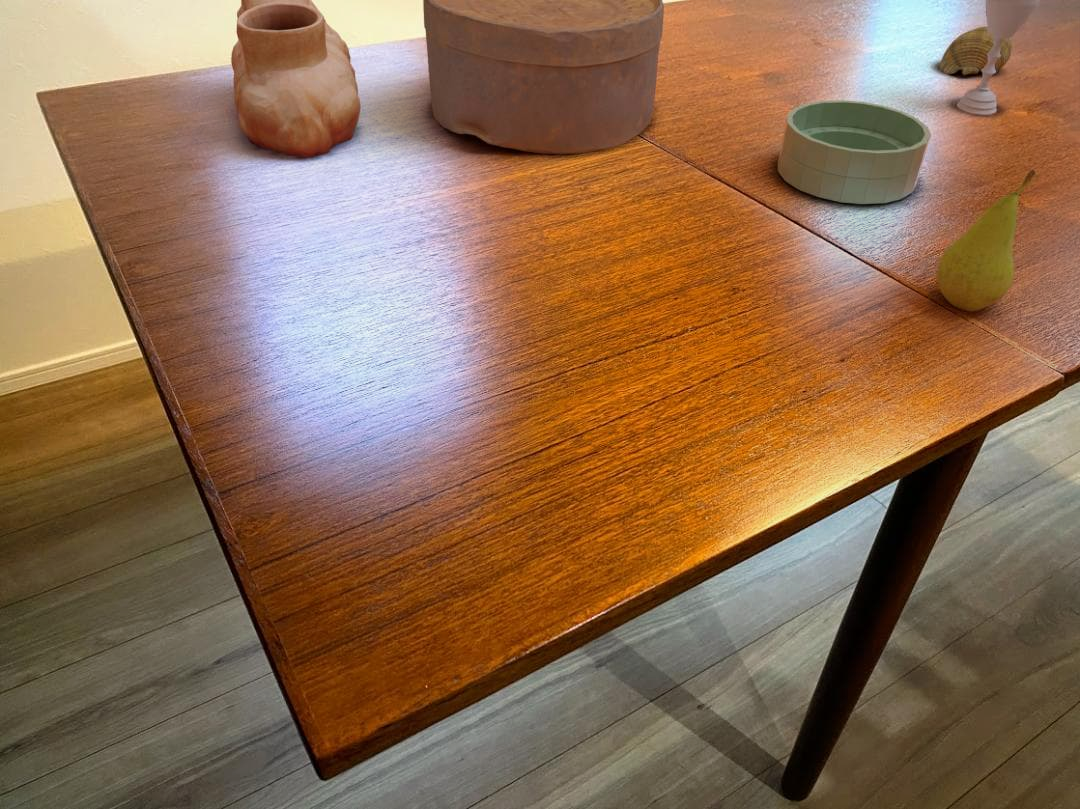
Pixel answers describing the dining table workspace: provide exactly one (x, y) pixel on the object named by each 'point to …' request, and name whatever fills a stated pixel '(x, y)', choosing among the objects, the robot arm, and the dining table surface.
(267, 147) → the ceramic vessel
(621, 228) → the dining table surface
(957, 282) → the fruit
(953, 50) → the seashell
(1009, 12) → the chalice
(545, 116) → the container
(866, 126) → the bowl
